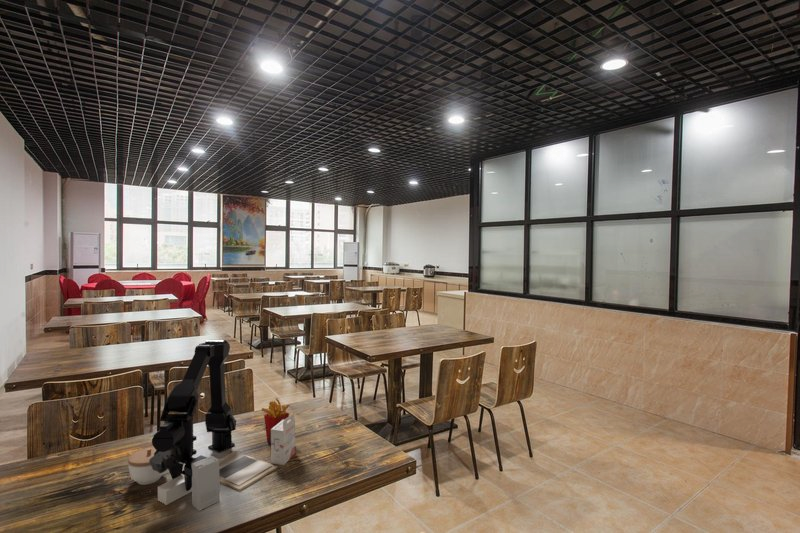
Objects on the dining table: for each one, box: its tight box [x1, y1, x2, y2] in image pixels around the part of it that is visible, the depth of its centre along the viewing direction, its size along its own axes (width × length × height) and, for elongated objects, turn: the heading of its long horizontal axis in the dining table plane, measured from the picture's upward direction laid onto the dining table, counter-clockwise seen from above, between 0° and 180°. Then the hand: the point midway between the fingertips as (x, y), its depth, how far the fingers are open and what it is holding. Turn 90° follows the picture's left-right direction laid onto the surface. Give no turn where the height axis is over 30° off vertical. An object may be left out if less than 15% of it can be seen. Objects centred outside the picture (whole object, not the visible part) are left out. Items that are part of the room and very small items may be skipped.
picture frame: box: [218, 450, 279, 492], centre depth 132 cm, size 20×15×1 cm
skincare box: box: [191, 455, 221, 512], centre depth 114 cm, size 6×4×12 cm
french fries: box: [260, 397, 291, 443], centre depth 153 cm, size 9×8×15 cm
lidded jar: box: [127, 446, 165, 486], centre depth 126 cm, size 11×11×9 cm
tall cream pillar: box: [157, 474, 192, 506], centre depth 120 cm, size 4×12×4 cm, turn 151°
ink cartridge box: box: [270, 412, 296, 466], centre depth 139 cm, size 9×5×15 cm, turn 168°
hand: (182, 487), depth 120 cm, fingers open, 5 cm apart
